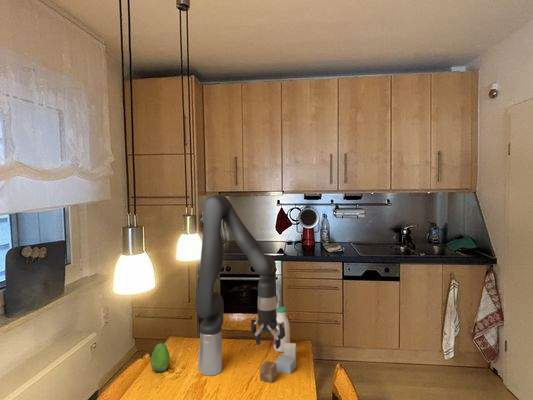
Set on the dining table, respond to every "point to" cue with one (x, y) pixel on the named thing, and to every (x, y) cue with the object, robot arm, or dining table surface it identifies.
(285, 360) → the base block
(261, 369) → the walnut block
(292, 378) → the dining table surface
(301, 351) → the dining table surface
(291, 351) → the beige block
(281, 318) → the milk bottle
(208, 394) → the dining table surface
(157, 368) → the avocado
